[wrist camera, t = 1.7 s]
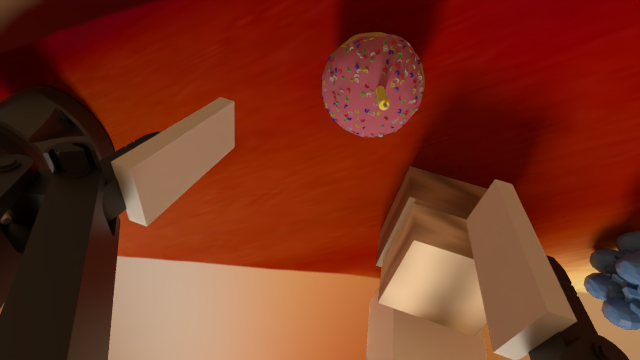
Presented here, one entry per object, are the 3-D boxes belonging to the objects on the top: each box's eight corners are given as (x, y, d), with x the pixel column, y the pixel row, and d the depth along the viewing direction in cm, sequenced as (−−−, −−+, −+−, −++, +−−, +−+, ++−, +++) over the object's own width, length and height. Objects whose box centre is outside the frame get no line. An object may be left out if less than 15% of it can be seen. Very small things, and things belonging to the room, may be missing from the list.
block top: (381, 265, 34) (377, 302, 30) (413, 203, 28) (414, 240, 24) (466, 293, 33) (473, 336, 29) (518, 235, 27) (537, 279, 23)
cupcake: (392, 2, 24) (380, 15, 14) (440, 86, 27) (456, 144, 17) (316, 64, 28) (268, 106, 19) (363, 131, 31) (342, 197, 22)
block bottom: (380, 230, 39) (375, 265, 34) (409, 164, 32) (409, 196, 27) (460, 256, 38) (468, 295, 33) (508, 194, 31) (526, 232, 26)
